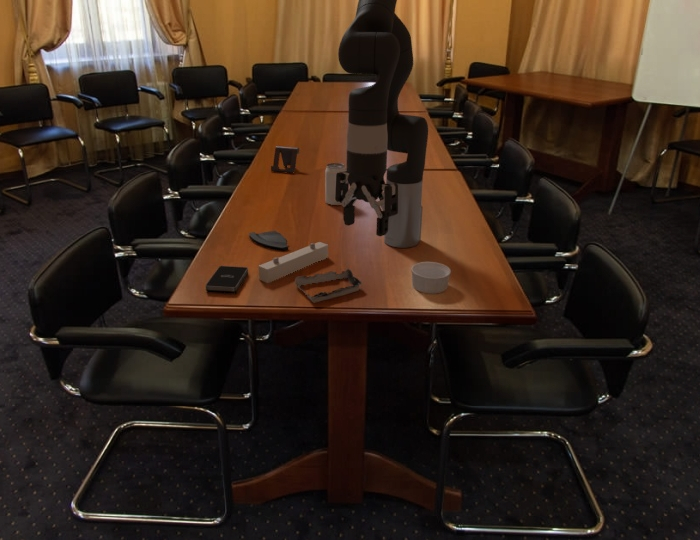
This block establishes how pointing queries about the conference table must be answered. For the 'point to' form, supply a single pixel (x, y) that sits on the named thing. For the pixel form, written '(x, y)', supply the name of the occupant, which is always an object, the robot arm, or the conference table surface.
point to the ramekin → (430, 277)
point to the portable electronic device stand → (285, 159)
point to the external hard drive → (227, 279)
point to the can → (332, 182)
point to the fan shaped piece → (270, 240)
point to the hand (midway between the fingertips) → (365, 229)
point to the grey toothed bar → (292, 262)
